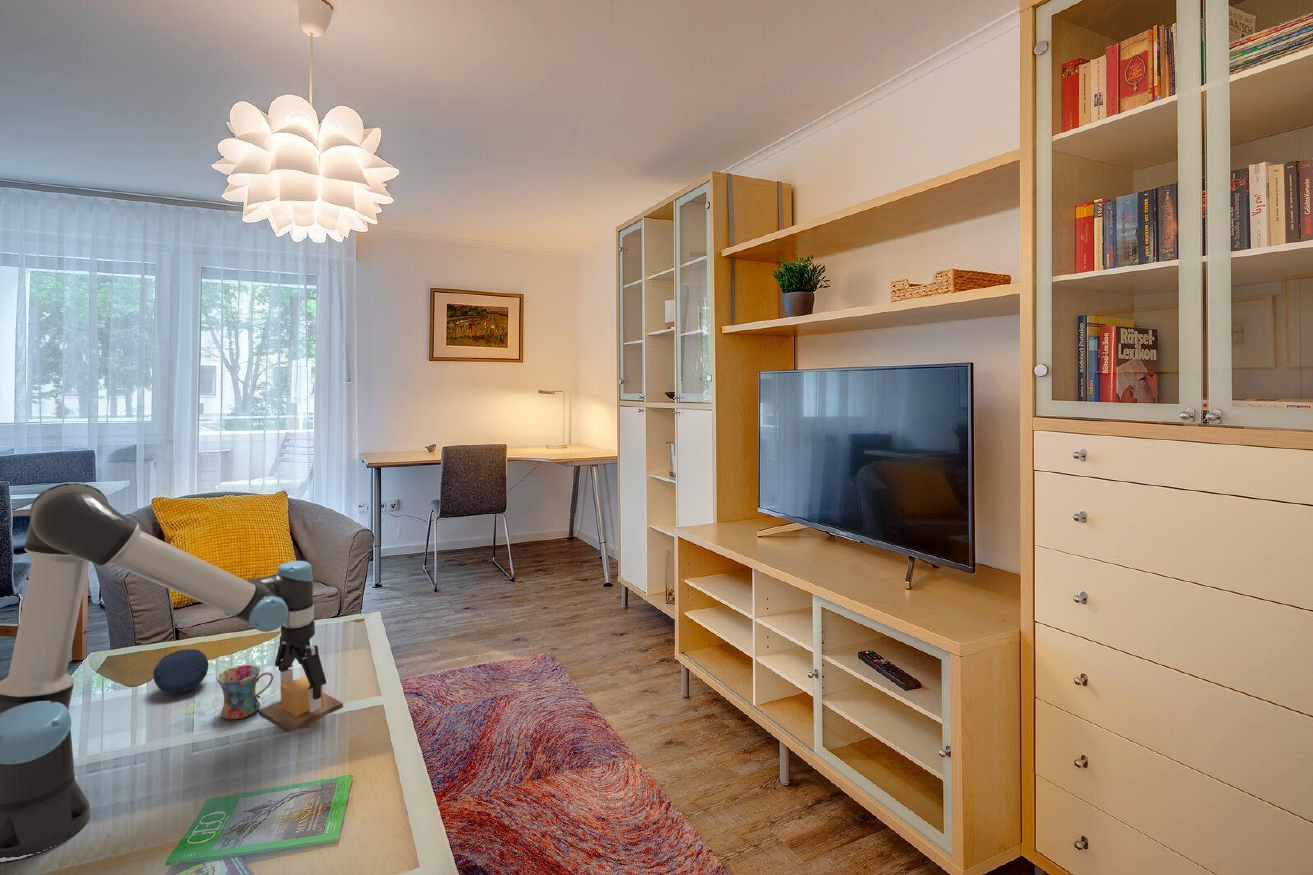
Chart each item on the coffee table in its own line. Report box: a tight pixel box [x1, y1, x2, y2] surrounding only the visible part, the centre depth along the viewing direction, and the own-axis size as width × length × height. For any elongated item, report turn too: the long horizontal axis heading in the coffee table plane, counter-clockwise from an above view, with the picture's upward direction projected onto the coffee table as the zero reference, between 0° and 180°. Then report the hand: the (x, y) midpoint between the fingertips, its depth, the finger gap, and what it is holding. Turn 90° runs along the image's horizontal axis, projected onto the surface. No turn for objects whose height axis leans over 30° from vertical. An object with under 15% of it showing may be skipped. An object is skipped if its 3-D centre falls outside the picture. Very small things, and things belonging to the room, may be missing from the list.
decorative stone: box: [153, 648, 209, 695], centre depth 173 cm, size 12×12×10 cm
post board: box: [258, 692, 344, 732], centre depth 164 cm, size 14×14×6 cm
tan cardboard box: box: [279, 675, 324, 716], centre depth 164 cm, size 7×7×6 cm
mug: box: [216, 664, 274, 720], centre depth 163 cm, size 12×9×11 cm
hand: (301, 701), depth 164 cm, fingers open, 13 cm apart
